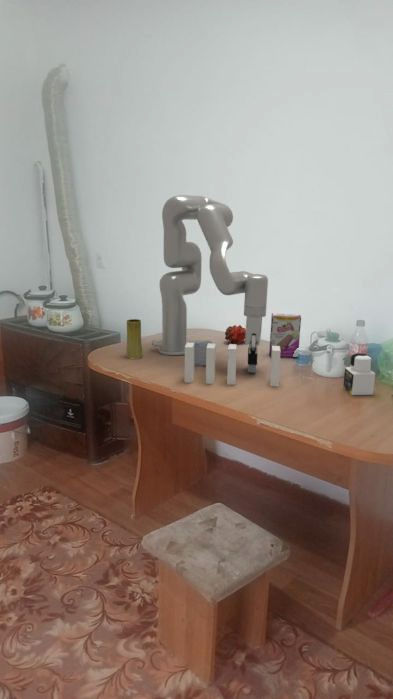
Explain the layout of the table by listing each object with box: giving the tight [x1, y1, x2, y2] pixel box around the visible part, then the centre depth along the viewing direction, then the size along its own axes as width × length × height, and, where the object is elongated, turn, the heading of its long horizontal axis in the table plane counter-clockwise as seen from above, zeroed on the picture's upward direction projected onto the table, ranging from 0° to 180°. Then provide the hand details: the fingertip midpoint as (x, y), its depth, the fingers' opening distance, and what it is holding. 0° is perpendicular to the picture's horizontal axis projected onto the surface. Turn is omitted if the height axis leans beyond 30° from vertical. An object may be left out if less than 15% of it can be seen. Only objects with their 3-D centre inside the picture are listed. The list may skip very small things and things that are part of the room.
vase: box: [125, 318, 143, 359], centre depth 196 cm, size 6×6×14 cm
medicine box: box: [188, 339, 213, 367], centre depth 188 cm, size 8×4×9 cm, turn 107°
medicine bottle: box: [343, 352, 376, 396], centre depth 161 cm, size 7×7×12 cm
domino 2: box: [205, 342, 216, 385], centre depth 170 cm, size 2×6×12 cm, turn 174°
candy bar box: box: [268, 312, 302, 358], centre depth 199 cm, size 11×5×16 cm, turn 84°
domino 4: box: [247, 340, 257, 373], centre depth 180 cm, size 2×6×12 cm, turn 174°
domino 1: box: [184, 342, 195, 384], centre depth 171 cm, size 2×6×12 cm, turn 174°
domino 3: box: [226, 343, 238, 386], centre depth 169 cm, size 2×6×12 cm, turn 174°
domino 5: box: [269, 346, 281, 388], centre depth 168 cm, size 2×6×12 cm, turn 174°
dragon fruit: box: [224, 324, 246, 344], centre depth 220 cm, size 8×8×12 cm
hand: (252, 361), depth 181 cm, fingers closed on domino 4, 6 cm apart
